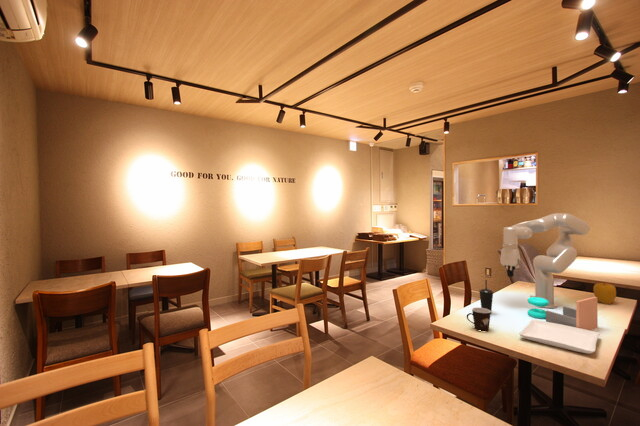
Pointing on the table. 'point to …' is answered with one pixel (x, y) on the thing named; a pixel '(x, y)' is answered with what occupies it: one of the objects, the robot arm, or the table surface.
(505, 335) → the table surface
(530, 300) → the donuts
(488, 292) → the drinking cup
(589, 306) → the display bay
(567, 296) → the table surface
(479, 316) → the coffee mug
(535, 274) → the robot arm
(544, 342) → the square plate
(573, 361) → the table surface
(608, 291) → the apple
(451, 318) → the table surface
